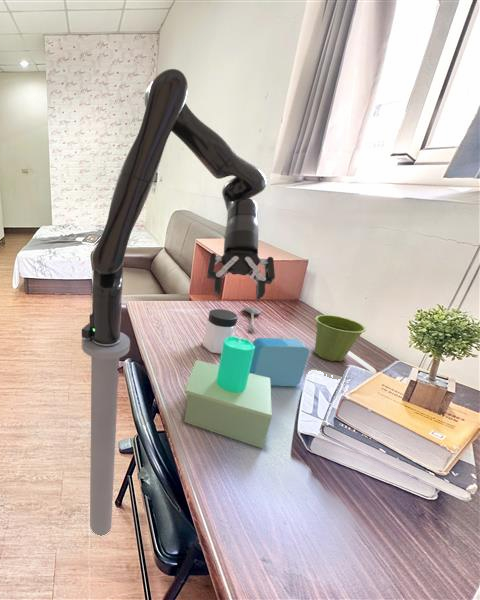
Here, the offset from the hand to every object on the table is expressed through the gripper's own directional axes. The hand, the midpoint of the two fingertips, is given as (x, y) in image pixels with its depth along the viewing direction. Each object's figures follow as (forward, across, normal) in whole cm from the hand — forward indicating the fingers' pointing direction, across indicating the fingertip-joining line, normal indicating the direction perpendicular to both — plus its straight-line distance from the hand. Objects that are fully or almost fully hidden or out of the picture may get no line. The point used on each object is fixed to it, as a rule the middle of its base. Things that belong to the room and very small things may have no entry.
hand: (238, 295), depth 72 cm
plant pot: (-1, +33, +38) cm, 50 cm away
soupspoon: (-15, +14, +52) cm, 56 cm away
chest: (+26, 0, +11) cm, 28 cm away
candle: (+20, 0, +5) cm, 20 cm away
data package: (+13, +13, +24) cm, 30 cm away
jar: (+3, +1, +34) cm, 34 cm away
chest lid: (+20, 0, +6) cm, 21 cm away
